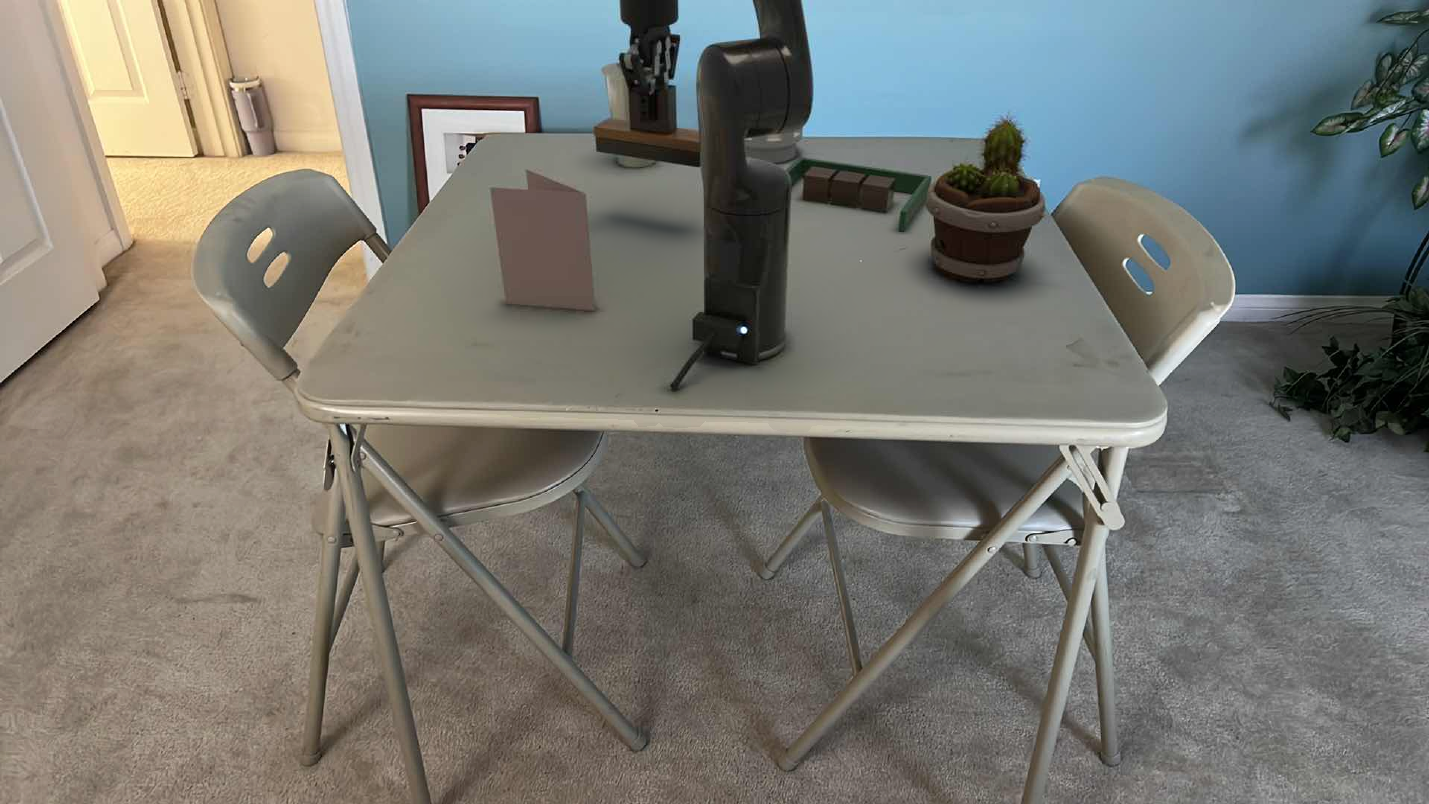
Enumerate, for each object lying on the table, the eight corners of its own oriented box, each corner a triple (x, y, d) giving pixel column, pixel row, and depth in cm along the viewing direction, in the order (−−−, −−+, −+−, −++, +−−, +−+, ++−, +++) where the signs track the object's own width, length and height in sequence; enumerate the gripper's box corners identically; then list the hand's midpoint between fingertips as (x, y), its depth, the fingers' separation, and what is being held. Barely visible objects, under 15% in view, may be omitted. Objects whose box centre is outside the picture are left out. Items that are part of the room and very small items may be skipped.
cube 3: (827, 203, 144) (828, 178, 141) (802, 199, 145) (803, 174, 143) (835, 194, 147) (836, 169, 144) (810, 191, 148) (812, 166, 146)
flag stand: (811, 162, 159) (821, -31, 142) (736, 168, 156) (738, -27, 140) (789, 138, 169) (797, -44, 153) (719, 143, 167) (719, -41, 151)
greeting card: (600, 308, 115) (591, 191, 107) (551, 329, 111) (538, 209, 103) (544, 279, 122) (531, 167, 114) (496, 297, 118) (479, 182, 109)
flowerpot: (999, 305, 116) (1029, 145, 105) (894, 268, 124) (912, 117, 113) (1052, 267, 125) (1085, 117, 114) (951, 236, 133) (973, 93, 122)
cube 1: (886, 212, 140) (888, 187, 138) (860, 208, 142) (862, 183, 140) (893, 203, 143) (895, 178, 141) (867, 199, 145) (870, 174, 143)
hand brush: (700, 168, 127) (700, 97, 122) (594, 151, 133) (589, 82, 127) (715, 157, 131) (715, 87, 125) (610, 141, 136) (606, 74, 131)
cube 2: (856, 208, 142) (858, 182, 140) (830, 204, 143) (832, 178, 141) (863, 199, 145) (865, 174, 143) (838, 195, 146) (840, 170, 144)
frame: (903, 231, 135) (905, 211, 133) (763, 208, 142) (764, 189, 140) (929, 194, 147) (931, 175, 145) (798, 174, 154) (799, 156, 152)
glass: (675, 150, 164) (670, -37, 148) (666, 172, 155) (660, -25, 138) (614, 148, 165) (603, -38, 148) (602, 170, 156) (587, -26, 139)
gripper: (647, -28, 126) (652, 102, 135) (595, -10, 115) (604, 129, 125) (698, -24, 123) (699, 108, 133) (649, -6, 113) (654, 137, 122)
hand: (653, 118), depth 129 cm, fingers closed on hand brush, 2 cm apart
